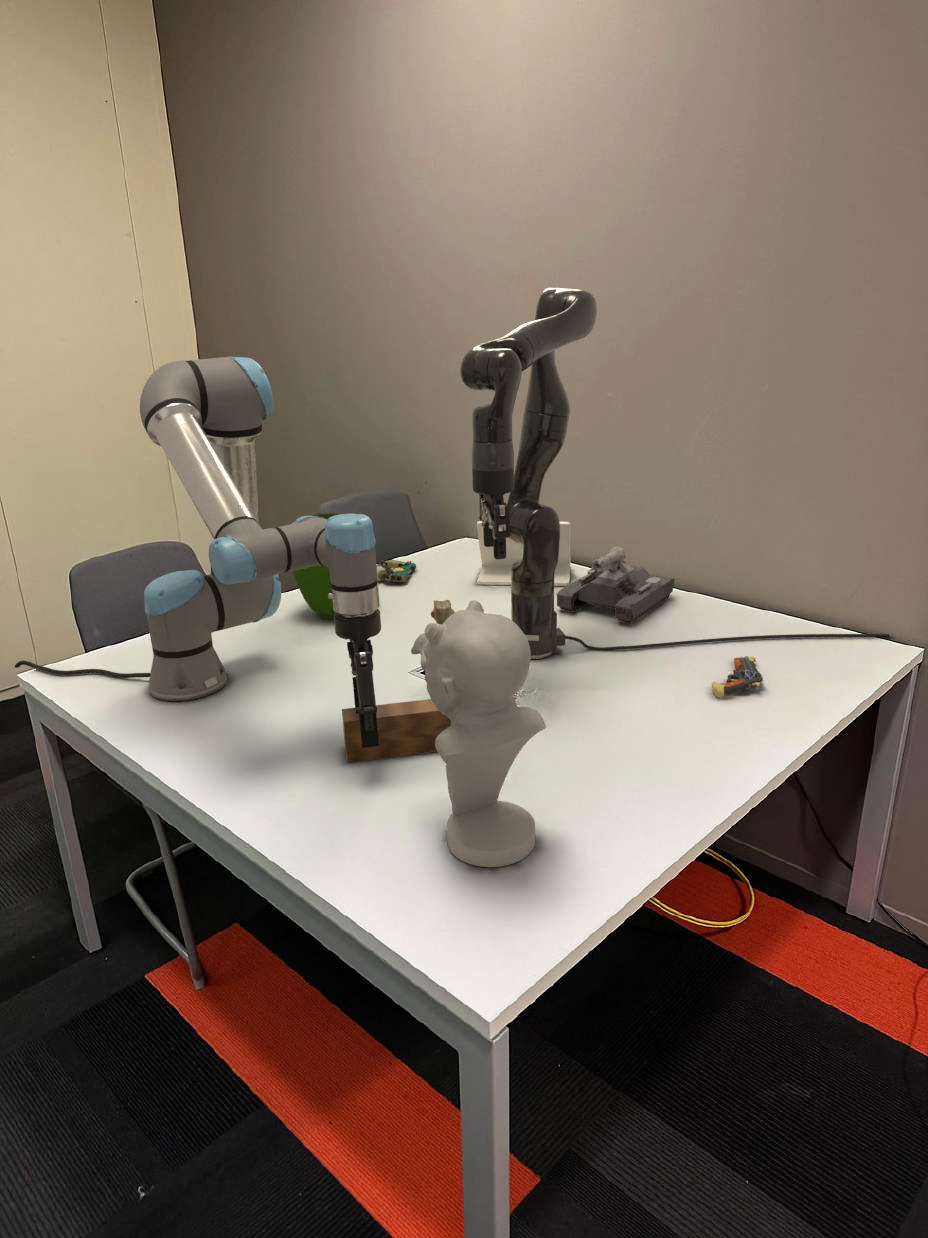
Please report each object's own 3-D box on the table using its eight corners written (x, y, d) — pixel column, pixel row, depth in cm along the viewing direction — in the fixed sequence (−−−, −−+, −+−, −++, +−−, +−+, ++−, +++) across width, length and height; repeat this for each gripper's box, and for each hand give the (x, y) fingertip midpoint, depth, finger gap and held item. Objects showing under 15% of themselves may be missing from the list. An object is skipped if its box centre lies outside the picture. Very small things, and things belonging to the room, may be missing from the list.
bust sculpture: (481, 772, 140) (476, 569, 128) (565, 848, 120) (569, 617, 108) (392, 800, 134) (378, 588, 121) (465, 886, 114) (457, 642, 101)
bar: (486, 732, 154) (485, 692, 151) (492, 744, 149) (491, 704, 147) (345, 749, 149) (341, 709, 147) (347, 763, 145) (343, 721, 142)
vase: (389, 608, 216) (383, 514, 208) (339, 633, 201) (330, 533, 192) (330, 596, 226) (322, 506, 218) (278, 619, 211) (267, 523, 202)
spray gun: (385, 567, 252) (430, 574, 246) (355, 580, 238) (402, 588, 232) (385, 553, 251) (430, 559, 245) (355, 565, 236) (402, 573, 230)
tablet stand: (569, 585, 229) (570, 524, 223) (476, 584, 232) (475, 523, 226) (570, 566, 246) (571, 508, 240) (484, 564, 249) (483, 507, 243)
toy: (603, 584, 229) (605, 530, 224) (673, 597, 218) (677, 540, 213) (555, 612, 210) (556, 553, 205) (630, 627, 199) (633, 566, 194)
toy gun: (713, 687, 162) (768, 684, 160) (705, 654, 180) (754, 651, 178) (714, 700, 163) (769, 697, 161) (706, 666, 181) (755, 664, 179)
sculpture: (458, 662, 183) (456, 596, 178) (460, 676, 176) (457, 608, 171) (431, 663, 183) (428, 597, 177) (431, 677, 176) (428, 609, 171)
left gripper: (329, 589, 149) (339, 699, 157) (338, 639, 126) (350, 765, 134) (372, 585, 151) (380, 695, 158) (388, 634, 128) (397, 759, 135)
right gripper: (523, 471, 147) (524, 561, 152) (504, 457, 160) (505, 540, 166) (480, 474, 145) (483, 565, 151) (464, 459, 159) (467, 543, 164)
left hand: (366, 727), depth 146 cm, fingers open, 13 cm apart
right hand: (494, 552), depth 158 cm, fingers open, 8 cm apart
